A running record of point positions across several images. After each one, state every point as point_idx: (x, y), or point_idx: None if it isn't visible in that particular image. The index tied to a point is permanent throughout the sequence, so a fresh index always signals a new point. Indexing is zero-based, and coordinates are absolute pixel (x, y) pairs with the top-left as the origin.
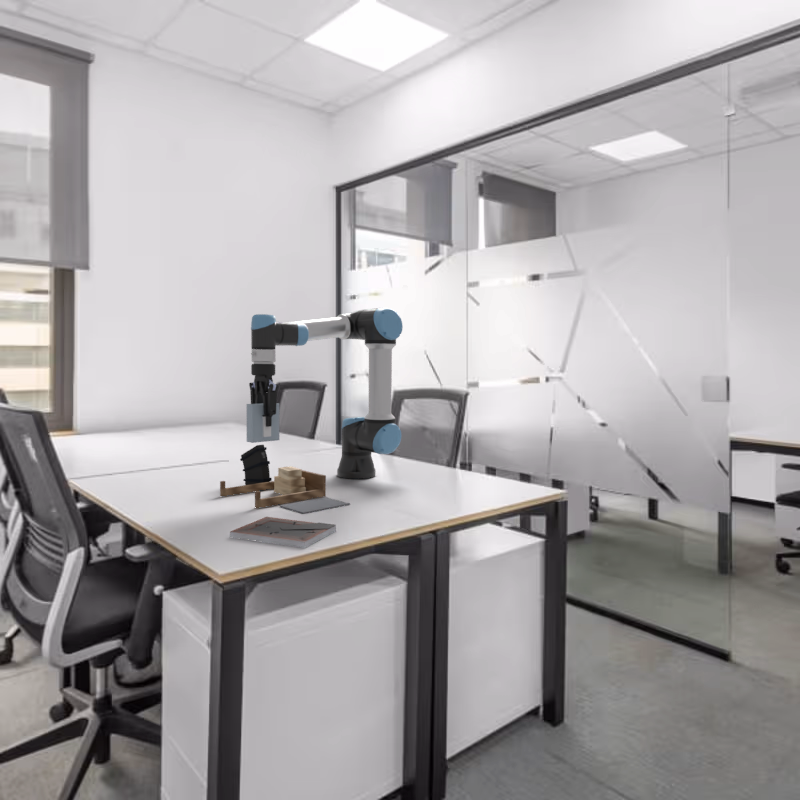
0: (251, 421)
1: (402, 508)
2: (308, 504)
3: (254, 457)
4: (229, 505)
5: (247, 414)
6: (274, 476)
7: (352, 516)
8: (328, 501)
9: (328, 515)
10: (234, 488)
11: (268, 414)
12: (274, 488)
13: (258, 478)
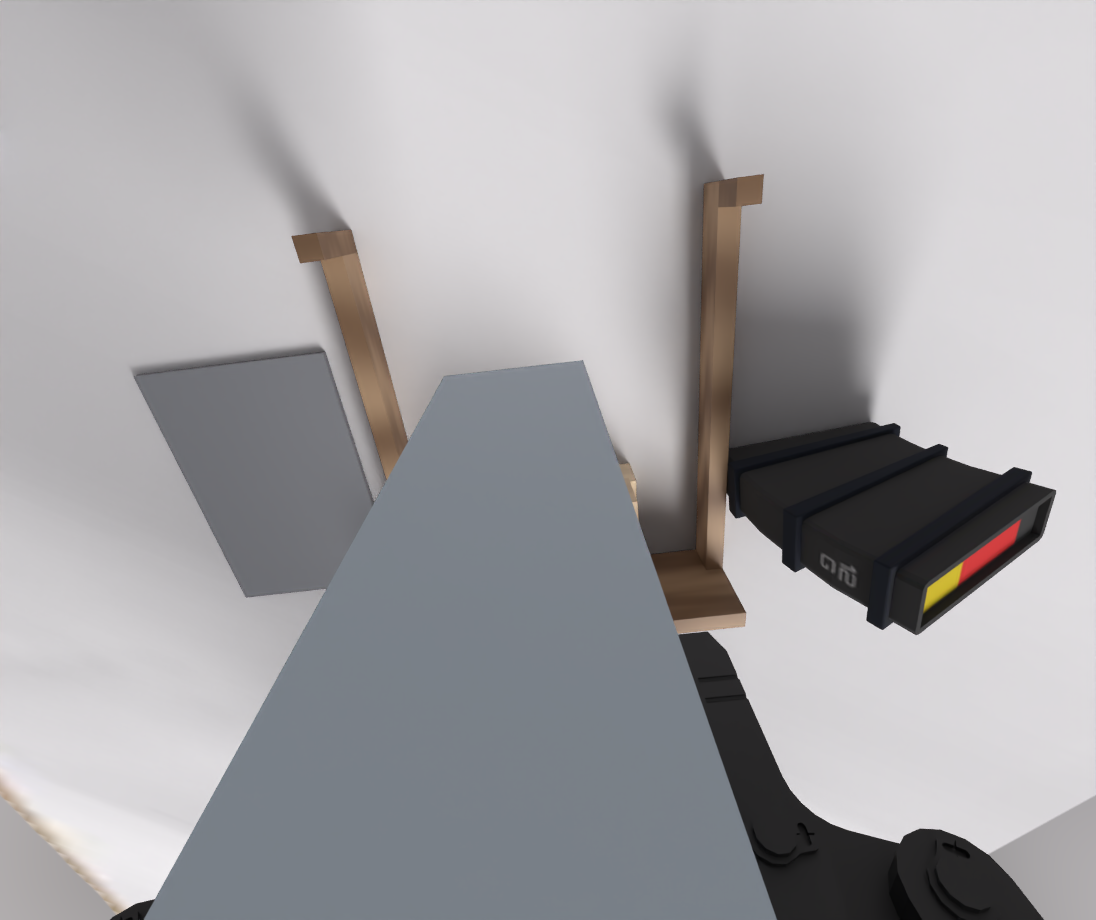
0: (402, 520)
1: (129, 689)
2: (288, 467)
3: (888, 520)
4: (477, 124)
5: (610, 617)
6: (636, 502)
7: (41, 515)
8: (311, 552)
9: (81, 450)
10: (714, 275)
11: (136, 912)
12: (630, 472)
13: (778, 464)
